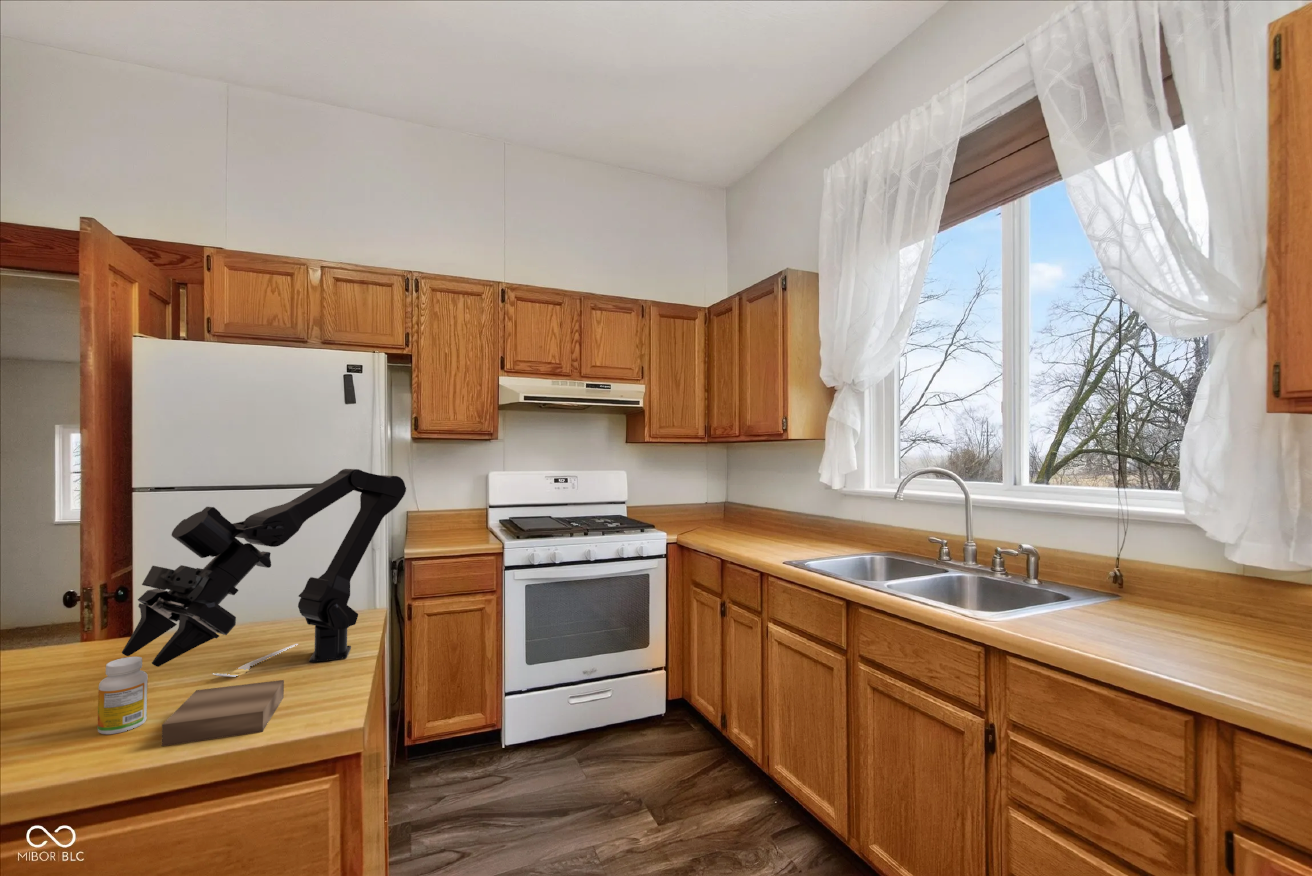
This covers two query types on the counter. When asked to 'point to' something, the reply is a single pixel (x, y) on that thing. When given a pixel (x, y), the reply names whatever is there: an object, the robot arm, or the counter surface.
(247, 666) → the fork
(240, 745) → the counter surface
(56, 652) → the counter surface
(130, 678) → the supplement bottle
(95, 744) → the counter surface
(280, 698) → the walnut base
